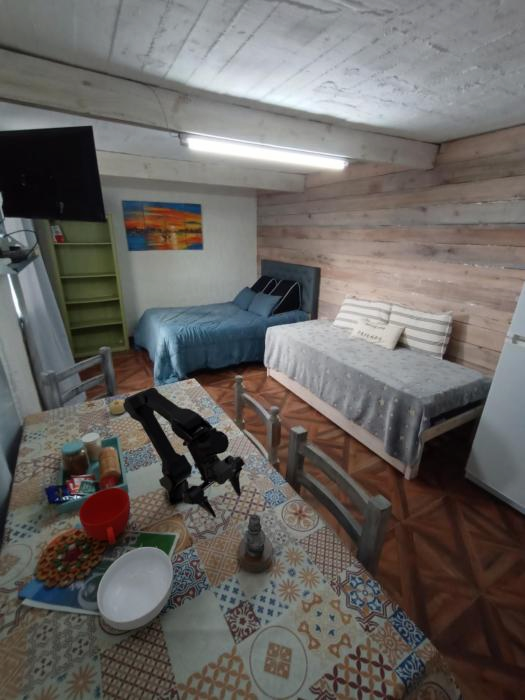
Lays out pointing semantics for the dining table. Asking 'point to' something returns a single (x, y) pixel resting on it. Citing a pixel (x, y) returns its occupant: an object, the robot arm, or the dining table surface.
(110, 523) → the ceramic cup
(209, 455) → the robot arm
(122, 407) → the onion
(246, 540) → the grey stone chess piece
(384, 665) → the dining table surface
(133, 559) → the cereal bowl
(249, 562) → the walnut puck
